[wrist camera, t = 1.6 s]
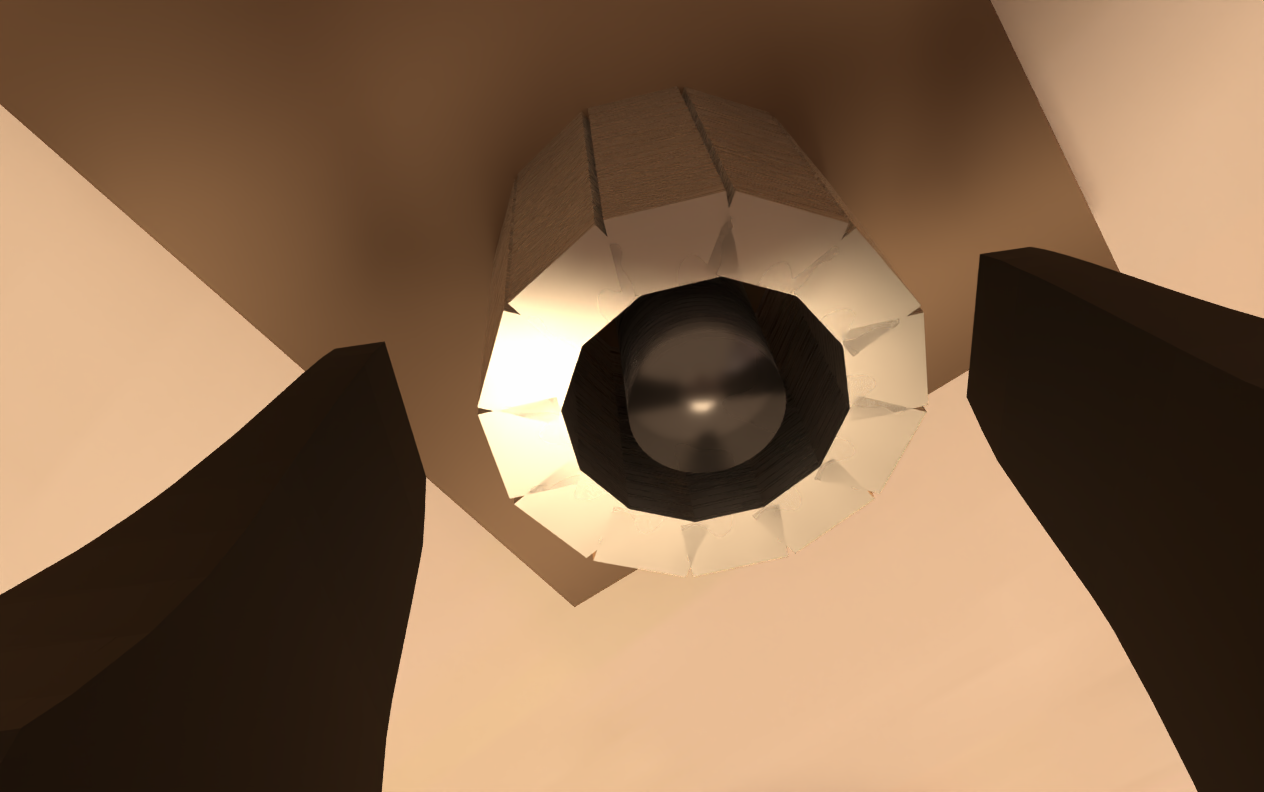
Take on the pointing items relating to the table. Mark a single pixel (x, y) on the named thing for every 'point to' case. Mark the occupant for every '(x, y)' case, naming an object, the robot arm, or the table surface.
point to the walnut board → (515, 161)
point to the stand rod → (699, 376)
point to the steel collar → (675, 256)
